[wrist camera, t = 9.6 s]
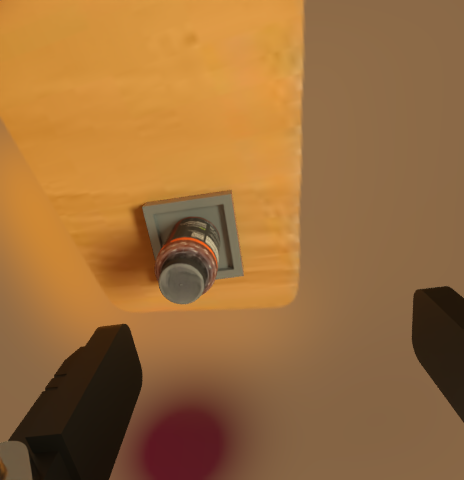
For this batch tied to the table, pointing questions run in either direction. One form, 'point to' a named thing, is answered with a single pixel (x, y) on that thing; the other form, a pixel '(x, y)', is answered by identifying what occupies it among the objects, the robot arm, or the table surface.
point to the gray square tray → (205, 206)
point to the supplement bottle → (188, 260)
